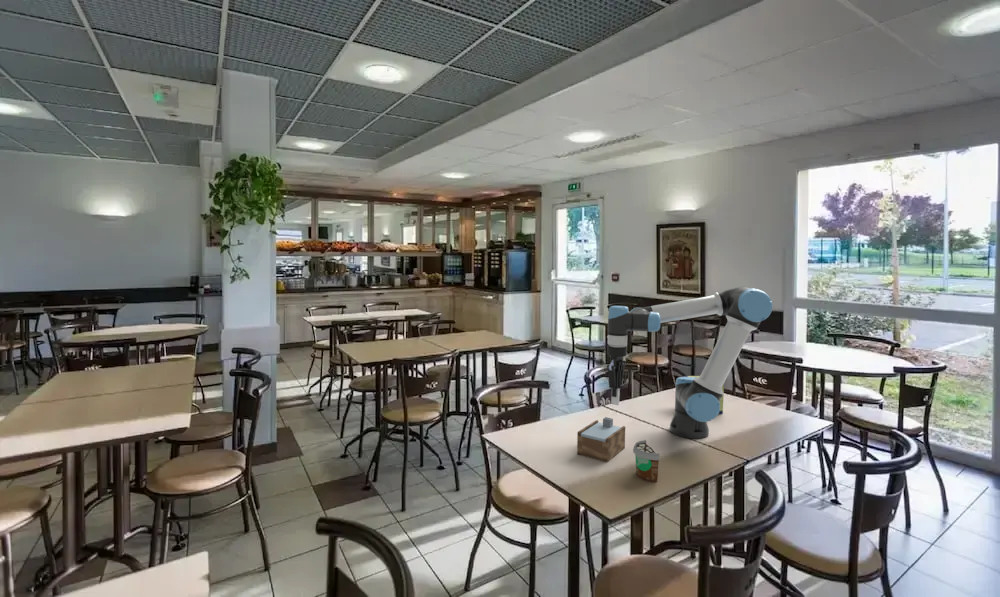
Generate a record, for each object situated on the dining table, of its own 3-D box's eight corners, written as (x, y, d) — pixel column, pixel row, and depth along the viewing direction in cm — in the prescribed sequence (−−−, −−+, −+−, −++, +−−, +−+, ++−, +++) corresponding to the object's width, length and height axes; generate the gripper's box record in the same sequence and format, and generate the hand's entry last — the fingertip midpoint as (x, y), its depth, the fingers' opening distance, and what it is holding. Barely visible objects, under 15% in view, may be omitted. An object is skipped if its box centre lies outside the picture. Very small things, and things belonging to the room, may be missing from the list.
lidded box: (596, 440, 195) (596, 420, 194) (624, 448, 187) (625, 426, 187) (577, 454, 182) (577, 431, 181) (607, 462, 175) (607, 439, 174)
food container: (627, 468, 170) (628, 440, 169) (644, 467, 170) (645, 439, 169) (640, 484, 158) (641, 454, 157) (659, 484, 158) (659, 454, 157)
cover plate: (598, 424, 193) (598, 414, 193) (621, 430, 187) (622, 419, 187) (580, 436, 181) (580, 425, 180) (605, 442, 175) (605, 431, 175)
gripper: (614, 342, 199) (612, 398, 201) (601, 346, 189) (599, 406, 191) (632, 344, 195) (630, 402, 197) (619, 349, 184) (617, 410, 186)
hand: (615, 404), depth 194 cm, fingers closed
